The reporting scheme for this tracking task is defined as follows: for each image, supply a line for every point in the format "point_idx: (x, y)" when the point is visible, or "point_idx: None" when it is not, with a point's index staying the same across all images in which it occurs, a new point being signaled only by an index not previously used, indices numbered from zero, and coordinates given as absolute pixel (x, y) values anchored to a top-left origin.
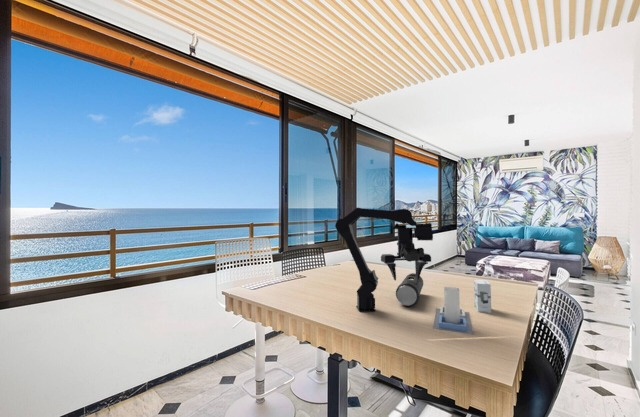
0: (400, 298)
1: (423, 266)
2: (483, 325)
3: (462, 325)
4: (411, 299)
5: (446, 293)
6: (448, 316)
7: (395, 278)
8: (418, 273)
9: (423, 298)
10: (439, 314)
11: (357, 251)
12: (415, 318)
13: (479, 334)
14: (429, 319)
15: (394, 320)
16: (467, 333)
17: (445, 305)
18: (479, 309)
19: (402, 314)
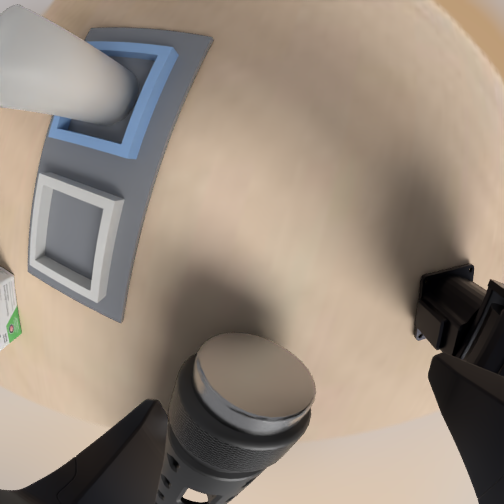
0: (293, 366)
1: (16, 490)
2: (24, 143)
3: (93, 45)
4: (232, 349)
5: (43, 20)
6: (112, 60)
7: (452, 360)
8: (118, 448)
9: None
10: (120, 232)
11: None
12: (252, 180)
13: None
14: (182, 171)
15: (367, 149)
16: (103, 28)
17: (90, 56)
18: (3, 277)
19: (306, 242)
